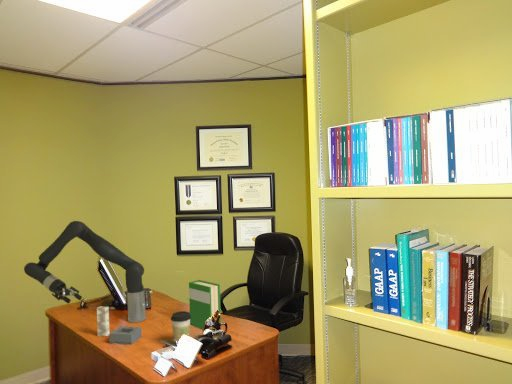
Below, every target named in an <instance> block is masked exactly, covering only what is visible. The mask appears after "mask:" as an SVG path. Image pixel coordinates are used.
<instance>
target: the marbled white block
mask: <svg viewBox="0 0 512 384" xmlns="http://www.w3.org/2000/svg"><path fill="white" fill-rule="evenodd" d="M96 321H97V322H96V324H97V326H96V327H97V337H101V336H107V337H108V336H110V335H109V334H110V333H111V332H110V311H109V306H102V305H101V306H98V307H96Z"/></svg>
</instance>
